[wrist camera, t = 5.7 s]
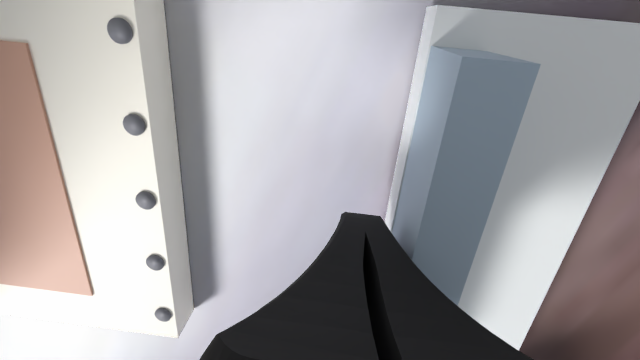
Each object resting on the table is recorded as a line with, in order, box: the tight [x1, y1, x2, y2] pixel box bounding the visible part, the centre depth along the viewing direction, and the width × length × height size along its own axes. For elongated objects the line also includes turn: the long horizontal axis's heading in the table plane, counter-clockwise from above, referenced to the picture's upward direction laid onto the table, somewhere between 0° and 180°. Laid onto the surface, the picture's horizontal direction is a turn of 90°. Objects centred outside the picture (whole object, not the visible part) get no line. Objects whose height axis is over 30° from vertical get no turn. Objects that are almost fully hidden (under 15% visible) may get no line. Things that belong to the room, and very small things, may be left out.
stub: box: [385, 5, 640, 351], centre depth 11 cm, size 6×14×4 cm, turn 175°
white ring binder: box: [0, 0, 194, 338], centre depth 13 cm, size 11×14×2 cm
